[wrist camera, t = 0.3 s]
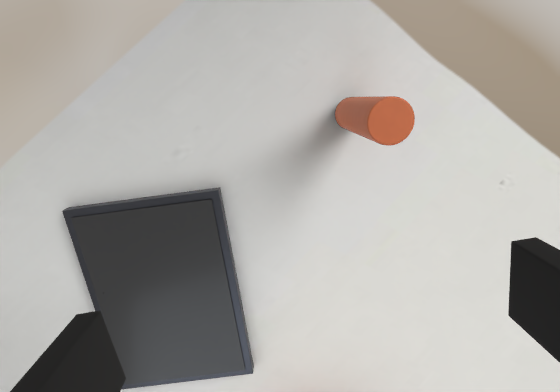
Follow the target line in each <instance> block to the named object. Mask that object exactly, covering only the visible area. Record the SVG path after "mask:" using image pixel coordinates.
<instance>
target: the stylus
mask: <svg viewBox="0 0 560 392" xmlns="http://www.w3.org/2000/svg"><path fill="white" fill-rule="evenodd" d="M335 118H336V121H337V123H338V124H339V125H340V126H341V127H342V128H344V129H347V130H349V131H351V132H354V133H356V134H358V135H361V136H363V137H365V138H368V139H370V140H372V141H375V142H377V143H379V144H382V145H395V144H398V143H400V142H402V141H403V140H404V139H406V138H407V137H408V135H409V134H410V132H411V131H412V129H413V126H414V112H413V109H412V107H411V106H410V104H409V103H408V102H407V101H405V100H404V99H402V98H399V97H349V98H345V99H344V100H342V101H341V102H340V103H339V104H338V106H337V108H336V111H335Z"/></svg>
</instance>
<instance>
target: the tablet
mask: <svg viewBox="0 0 560 392" xmlns="http://www.w3.org/2000/svg"><path fill="white" fill-rule="evenodd" d="M62 212H63V215H64V218H65V221H66V224H67V227H68V230H69V233H70V236H71V239H72V242H73V245H74V248H75V251H76V254H77V257H78V260H79V263H80V266H81V269H82V272H83V275H84V278H85V281H86V284H87V287H88V290H89V293H90V296H91V299H92V302H93V305H94V308H95V311H101V314H102V316H103V319H104V322H105V324H106V327H107V330H108V332H109V335H110V337H111V340H112V343H113V345H114V348H115V350H116V353H117V356H118V358H119V361H120V363H121V366H122V369H123V371H124V374H125V377H126V380H125V382H124V384H123V386H122V388H121V389H128V388H137V387H145V386H153V385H161V384H170V383H178V382H186V381H194V380H202V379H211V378H219V377H227V376H235V375H244V374H252V373H253V368H254V366H253V360H252V355H251V350H250V344H249V339H248V334H247V328H246V323H245V318H244V312H243V307H242V302H241V296H240V291H239V286H238V280H237V275H236V270H235V264H234V259H233V254H232V249H231V243H230V238H229V233H228V227H227V222H226V217H225V211H224V206H223V201H222V195H221V190H220V188H212V189H204V190H197V191H189V192H182V193H174V194H167V195H159V196H151V197H144V198H136V199H129V200H121V201H114V202H106V203H99V204H91V205H83V206H76V207H69V208H67V209H65V210H63V211H62Z"/></svg>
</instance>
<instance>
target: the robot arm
mask: <svg viewBox="0 0 560 392" xmlns="http://www.w3.org/2000/svg"><path fill="white" fill-rule="evenodd" d="M509 316H510V317H511V318H512V319H513V320H514V321H515V322H516V323H517V324H518V325H519V326H521V327H522V328H523V329H524V330H525V331H526V332H527V333H528V334H529V335H530V336H531V337H532V338H534V339H535V340H536V341H537V342H538V343H539V344H540V345H541V346H542V347H543V348H544V349H546V350H547V351H548V352H549V353H550V354H551V355H552V356H553V357H554V358H555V359H556V360H558V361H559V362H560V250H559V249H557V248H555V247H553V246H551V245H549V244H547V243H545V242H544V241H542V240H540V239H538V238H530V239H524V240H518V241H512V243H511V267H510V292H509ZM125 380H126V377H125V374H124V371H123V369H122V366H121V363H120V361H119V358H118V356H117V353H116V350H115V348H114V345H113V343H112V340H111V337H110V335H109V332H108V330H107V327H106V324H105V322H104V319H103V316H102V314H101V311H95V312H89V313H83V314H77V315H76V316H75V317H74V318H73V319H72V321H71V322H70V323H69V324H68V325H67V326H66V327H65V329H64V330H63V331H62V332H61V333H60V334H59V336H58V337H57V338H56V339H55V340H54V341H53V343H52V344H51V345H50V346H49V347H48V348H47V350H46V351H45V352H44V353H43V354H42V355H41V356H40V358H39V359H38V360H37V361H36V362H35V363H34V365H33V366H32V367H31V368H30V369H29V370H28V372H27V373H26V374H25V375H24V376H23V377H22V379H21V380H20V381H19V382H18V383H17V384H16V385H15V387H14V388H13V389H12V390H11V391H10V392H120V390H121V388H122V386H123V384H124V382H125Z"/></svg>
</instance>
